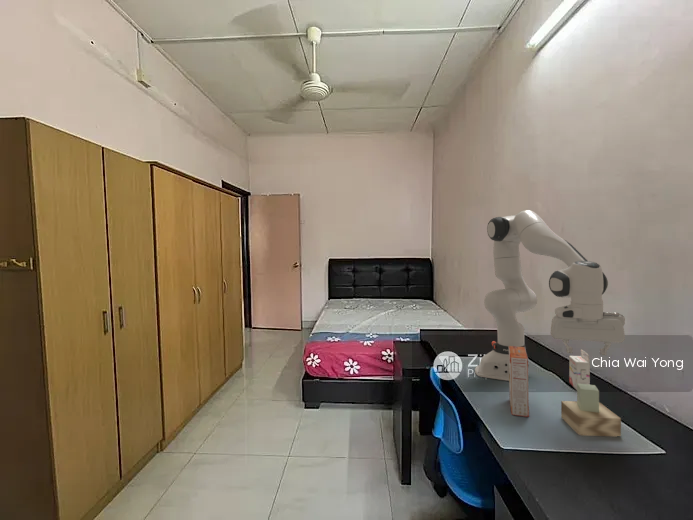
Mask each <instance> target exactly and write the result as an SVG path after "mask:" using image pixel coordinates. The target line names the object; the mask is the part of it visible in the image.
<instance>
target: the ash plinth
mask: <svg viewBox="0 0 693 520" xmlns="http://www.w3.org/2000/svg"><path fill="white" fill-rule="evenodd" d="M560 403H561V406H560V407H561V409H560V410H561V411H560V413H561V414H560V416H561V418H562V420H563V421H564V422H565V423H566V424H568V426H569V427H570V428H571V429H572V430H573V431H574V432H576V434H577V435H578V436H584V437H585V436H587V437H588V436H590V437H591V436H592V437H594V436H595V437H617V436H622V417H620V416H618V415H617V414H616V413H615V412H613V411H611V410H610V409H609V408H607V406H605V405H604V404H603V403H602V402H600V401H599V413H598V412H589V411H581V410H580V408H579V406H578V405H577V400H576V401H574V400H573V401H572V400H561V402H560Z"/></svg>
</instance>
